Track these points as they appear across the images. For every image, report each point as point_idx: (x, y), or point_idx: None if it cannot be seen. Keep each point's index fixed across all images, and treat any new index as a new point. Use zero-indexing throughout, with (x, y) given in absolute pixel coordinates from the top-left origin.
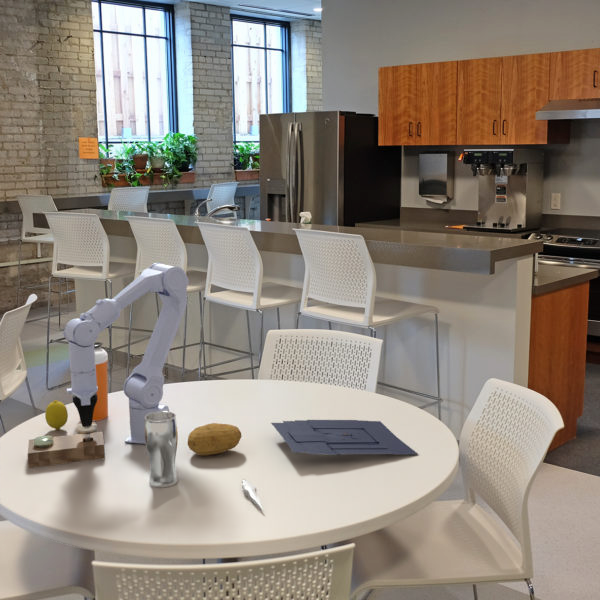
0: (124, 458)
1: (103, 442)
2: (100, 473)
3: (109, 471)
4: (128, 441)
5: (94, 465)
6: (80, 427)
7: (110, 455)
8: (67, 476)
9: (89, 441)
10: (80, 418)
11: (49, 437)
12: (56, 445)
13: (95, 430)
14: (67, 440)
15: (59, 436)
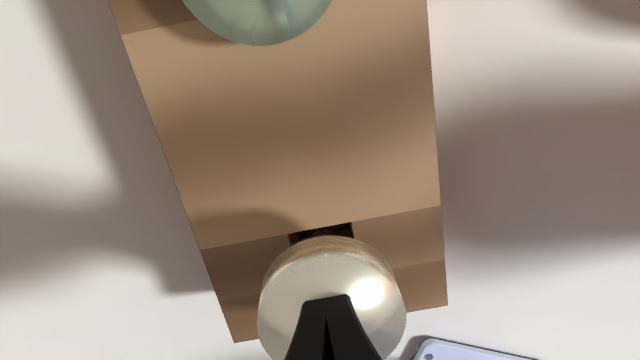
0: (245, 354)
1: None
2: (72, 294)
3: (98, 323)
4: (418, 356)
5: (165, 257)
6: (284, 290)
7: None
8: (12, 159)
9: None
10: (286, 356)
11: (288, 4)
12: (236, 70)
13: None
14: (329, 132)
15: (427, 55)
